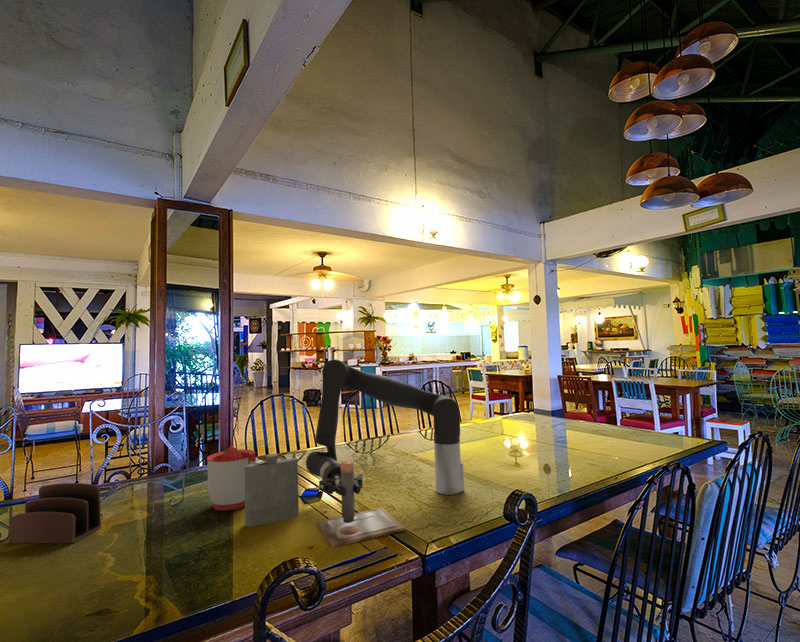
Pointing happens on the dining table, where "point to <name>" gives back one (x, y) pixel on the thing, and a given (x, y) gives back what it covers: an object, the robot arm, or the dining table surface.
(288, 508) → the hip flask
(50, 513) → the letter holder
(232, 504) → the citrus juicer
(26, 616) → the dining table surface
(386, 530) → the clipboard
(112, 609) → the dining table surface
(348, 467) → the marker
